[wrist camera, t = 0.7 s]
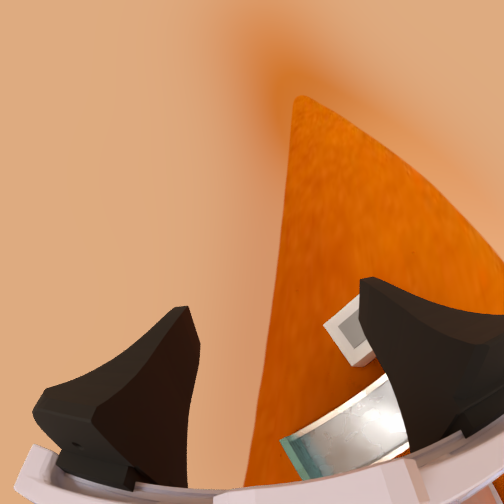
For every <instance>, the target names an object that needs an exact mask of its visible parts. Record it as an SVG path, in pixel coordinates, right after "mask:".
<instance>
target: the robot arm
mask: <svg viewBox="0 0 504 504" xmlns="http://www.w3.org/2000/svg"><path fill="white" fill-rule="evenodd" d="M358 320H359V322H360V325H361V327H362V330H363V332H364V335H365V337H366V339H367V341H368V343H369V345H370V346H371V348H372V350H373V352H374V353H375V355H376V357H377V359H378V360H379V362H380V364H381V366H382V368H383V369H384V371H385V373H386V375H387V377H388V379H389V381H390V384H391V386H392V389H393V391H394V394H395V397H396V400H397V403H398V406H399V409H400V412H401V415H402V418H403V422H404V426H405V429H406V433H407V437H408V442H409V447H410V452H411V454H408V455H406V456H403V457H401V458H395V459H391V460H387V461H383V462H379V463H376V464H372V465H369V466H366V467H362V468H359V469H355V470H351V471H348V472H344V473H339V474H335V475H331V476H326V477H321V478H316V479H310V480H304V481H298V482H291V483H283V484H274V485H263V486H252V487H244V488H235V489H230V490H212V489H190V488H188V483H187V430H188V429H187V428H188V416H189V409H190V403H191V398H192V394H193V389H194V384H195V380H196V375H197V371H198V366H199V358H200V341H199V338H198V335H197V332H196V329H195V326H194V323H193V319H192V316H191V313H190V310H189V307H188V306H182V307H175V308H173V309H172V310H171V311H169V312H168V313H167V314H166V315H165V316H164V317H163V318H162V319H161V320H160V321H159V322H158V323H156V324H155V325H154V326H153V327H152V328H151V329H150V330H149V331H148V332H147V333H146V334H144V335H143V336H142V337H141V338H140V339H139V340H137V341H136V342H135V343H134V344H133V345H132V346H130V347H129V348H128V349H127V350H125V351H124V352H122V353H121V354H120V355H118V356H117V357H115V358H114V359H112V360H111V361H109V362H107V363H106V364H104V365H102V366H100V367H98V368H97V369H95V370H93V371H91V372H89V373H87V374H85V375H83V376H80V377H78V378H76V379H74V380H71V381H68V382H66V383H62V384H59V385H56V386H53V387H50V388H47V389H45V390H44V392H43V394H42V395H41V397H40V399H39V400H38V402H37V404H36V405H35V407H34V409H33V411H32V413H33V417H34V419H35V421H36V423H37V424H38V425H39V426H40V428H41V429H42V430H43V431H44V432H45V433H46V434H47V435H48V436H49V437H50V438H51V439H52V440H53V441H54V442H55V443H56V444H57V445H58V446H59V447H60V448H61V449H62V450H61V452H60V454H59V455H58V454H57V453H55V452H53V451H51V450H49V449H47V448H44V447H41V446H39V445H37V444H33V445H32V448H31V450H30V452H29V454H28V456H27V458H26V460H25V462H24V464H23V467H22V469H21V471H20V473H19V476H18V478H17V480H16V483H15V485H14V490H15V491H17V492H18V493H19V494H21V495H22V496H24V497H25V498H27V499H28V500H30V501H31V502H33V503H35V504H503V502H502V500H501V499H500V497H499V495H498V493H497V491H496V489H495V487H494V485H493V484H492V482H493V481H494V480H495V479H497V478H498V477H499V476H501V475H502V474H503V473H504V315H491V314H480V313H473V312H467V311H462V310H457V309H453V308H449V307H446V306H443V305H439V304H436V303H433V302H430V301H428V300H425V299H423V298H420V297H418V296H415V295H413V294H411V293H409V292H406V291H404V290H402V289H400V288H398V287H396V286H394V285H391V284H389V283H387V282H385V281H383V280H380V279H378V278H375V277H369V278H364V279H360V293H359V316H358Z"/></svg>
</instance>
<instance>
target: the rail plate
mask: <svg viewBox="0 0 504 504" xmlns="http://www.w3.org/2000/svg"><path fill="white" fill-rule="evenodd" d="M279 441H280V443H281V445H282V446H283V448H284V450H285V452H286V453H287V455H288V457H289V458H290V460H291V462H292V464H293V465H294V467H295V469H296V470H297V472H298V474H299V475H300V477H301V479H302V480H303V481H304V480H310V479H316V478H321V477H326V476H331V475H335V474H339V473H344V472H348V471H351V470H355V469H359V468H362V467H366V466H369V465H372V464H376V463H379V462H383V461H387V460H390V459H392V458H394V457H395V456H397V455H399V454H400V453H402V452H403V451H405V450H406V449H408V448H409V442H408V437H407V433H406V429H405V426H404V422H403V418H402V415H401V412H400V409H399V406H398V403H397V400H396V397H395V394H394V391H393V389H392V386H391V384H390V381H389V379H388V377H387V375H386V373H385V374H384V375H383V376H382V377H380V378H379V379H378V380H376V381H375V382H374V383H372V384H371V385H370V386H368V387H367V388H366V389H364V390H363V391H361V392H360V393H359V394H357V395H356V396H354V397H353V398H351V399H350V400H348V401H347V402H345V403H344V404H342V405H341V406H339V407H338V408H336V409H335V410H333V411H332V412H330V413H328V414H327V415H325V416H324V417H322V418H320V419H319V420H317V421H315V422H314V423H312V424H310V425H308V426H307V427H305V428H303V429H301V430H300V431H298V432H296V433H294V434H292V435H290V436H287V437H285V438H283V439H281V440H279Z"/></svg>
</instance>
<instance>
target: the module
mask: <svg viewBox="0 0 504 504" xmlns="http://www.w3.org/2000/svg"><path fill="white" fill-rule="evenodd" d="M358 316H359V295H357V296H356V297H355V298H354V299H353V300H352V301H351V302H350V303H348V304H347V305H346V306H345V307H344V308H343V309H341V310H340V311H339V312H338V313H337V314H336V315H334V316H333V317H332V318H331V319H330V320H328V321H327V322H326V323H325V324H324V325H323V326H324V327H325V329H326V330H327V331H328V333H329V334H330V336H331V337H332V339H333V340H334V341H335V343H336V344H337V346H338V347H339V349H340V350H341V351H342V353H343V354H344V356H345V357H346V359H347V360H348V362H349V363H350V364H351V366H356V367H364V366H366V365H367V364H368V363H369V362H371V361H372V360H373V359H374V358H376V355H375V353H374V352H373V350H372V348H371V346H370V345H369V343H368V341H367V339H366V337H365V335H364V332H363V330H362V327H361V325H360V322H359V320H358Z"/></svg>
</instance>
